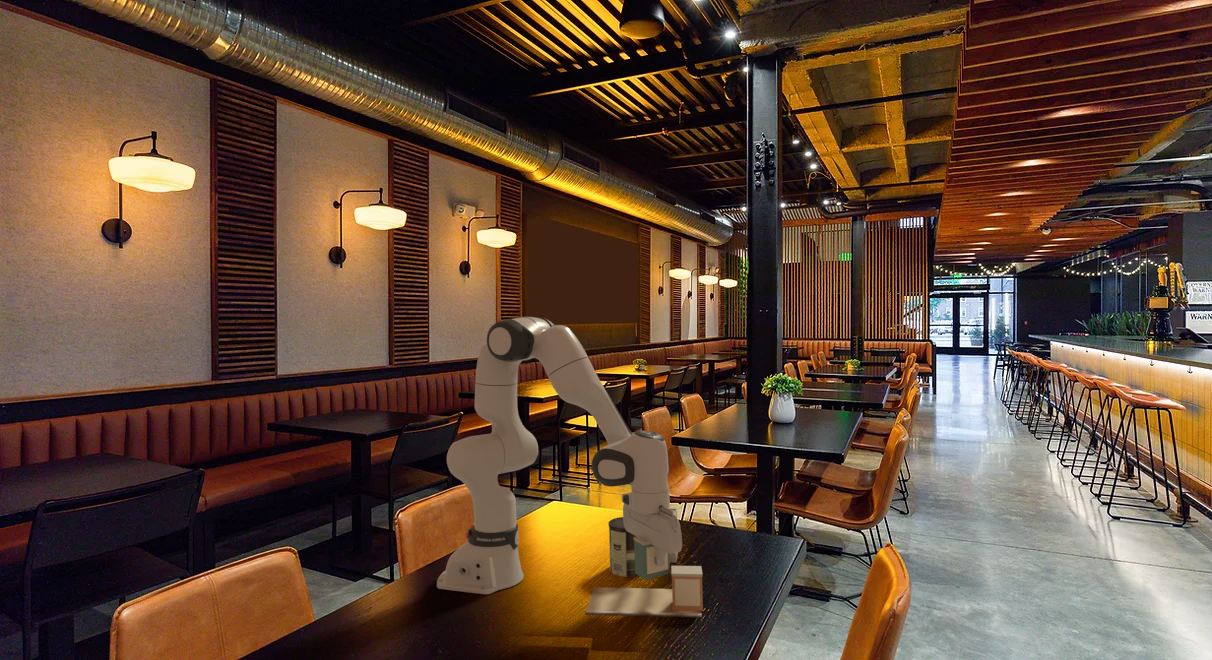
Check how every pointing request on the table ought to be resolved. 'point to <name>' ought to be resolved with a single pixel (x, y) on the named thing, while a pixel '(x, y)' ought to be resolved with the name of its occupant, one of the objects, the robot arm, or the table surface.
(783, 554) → the table surface
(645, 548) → the green tin
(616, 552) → the coffee can
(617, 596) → the shelf board
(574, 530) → the table surface
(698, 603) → the rust tin
